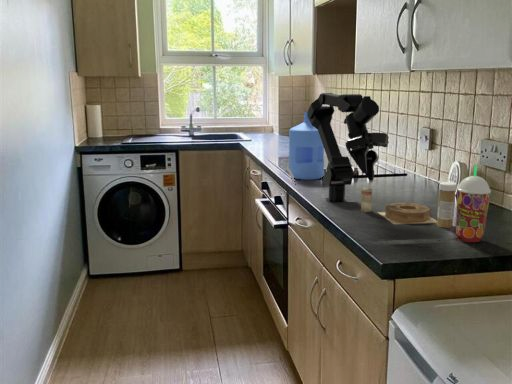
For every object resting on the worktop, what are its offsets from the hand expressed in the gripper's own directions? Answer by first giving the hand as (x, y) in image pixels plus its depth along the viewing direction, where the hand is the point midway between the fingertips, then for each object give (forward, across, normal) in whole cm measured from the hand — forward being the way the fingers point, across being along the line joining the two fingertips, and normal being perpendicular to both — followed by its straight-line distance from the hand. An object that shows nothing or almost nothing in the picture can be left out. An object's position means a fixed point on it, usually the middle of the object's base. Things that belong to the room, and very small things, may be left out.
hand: (368, 176), depth 157 cm
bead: (+14, +6, -8) cm, 17 cm away
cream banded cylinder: (+9, +9, +5) cm, 13 cm away
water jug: (-24, +55, +35) cm, 69 cm away
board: (+14, +7, -7) cm, 18 cm away
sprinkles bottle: (+20, +2, -17) cm, 27 cm away
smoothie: (+26, -4, -23) cm, 35 cm away
